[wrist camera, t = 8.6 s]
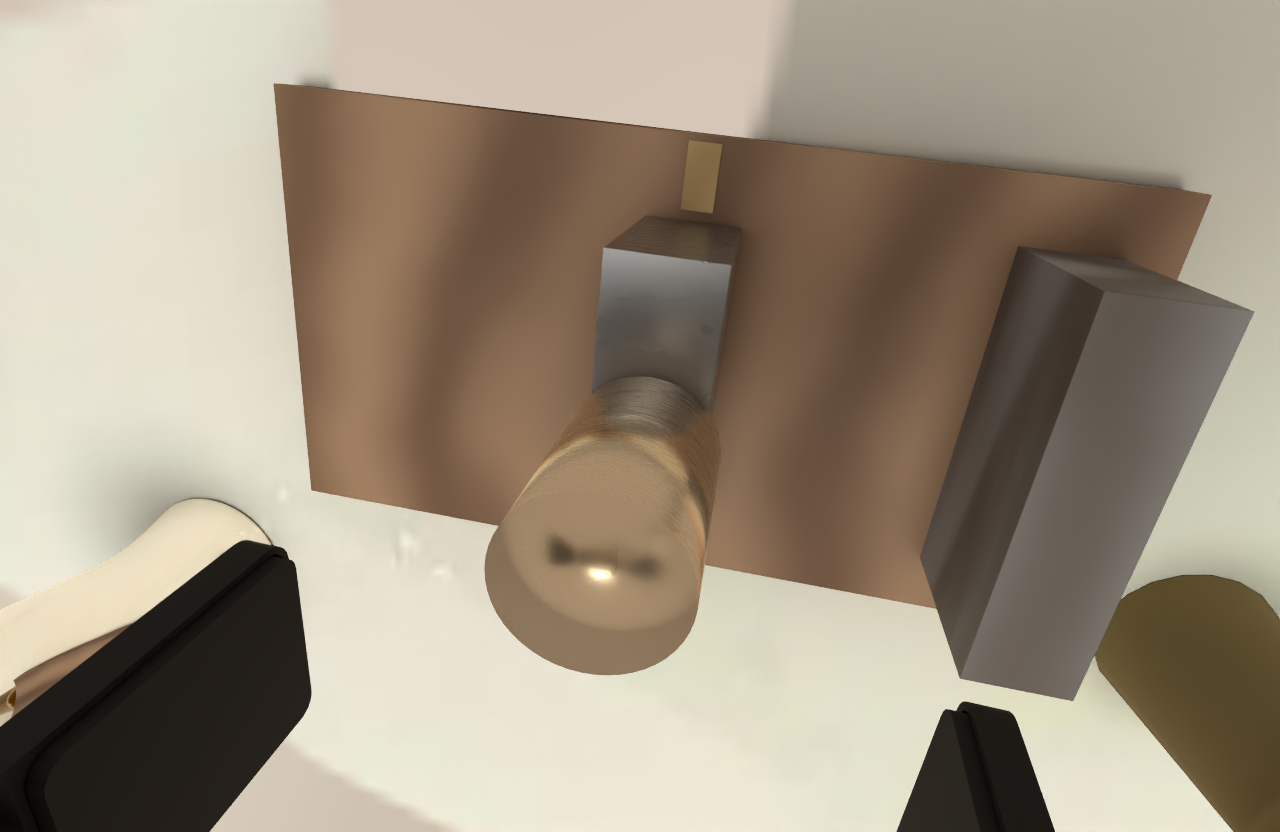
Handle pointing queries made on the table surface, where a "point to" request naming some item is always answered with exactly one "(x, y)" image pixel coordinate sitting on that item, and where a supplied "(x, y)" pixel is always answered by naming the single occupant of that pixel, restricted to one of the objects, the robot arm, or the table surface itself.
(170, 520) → the beer glass
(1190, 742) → the olive brown pawn
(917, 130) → the table surface
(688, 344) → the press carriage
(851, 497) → the base
